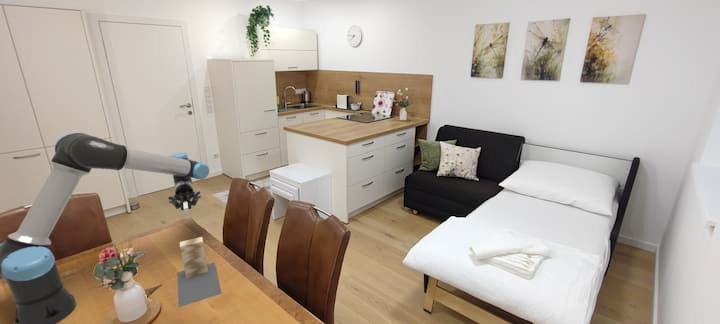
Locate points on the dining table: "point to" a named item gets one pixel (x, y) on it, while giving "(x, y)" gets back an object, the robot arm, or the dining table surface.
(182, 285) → the rubber mat
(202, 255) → the beige tall block
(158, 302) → the dining table surface
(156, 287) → the shard
